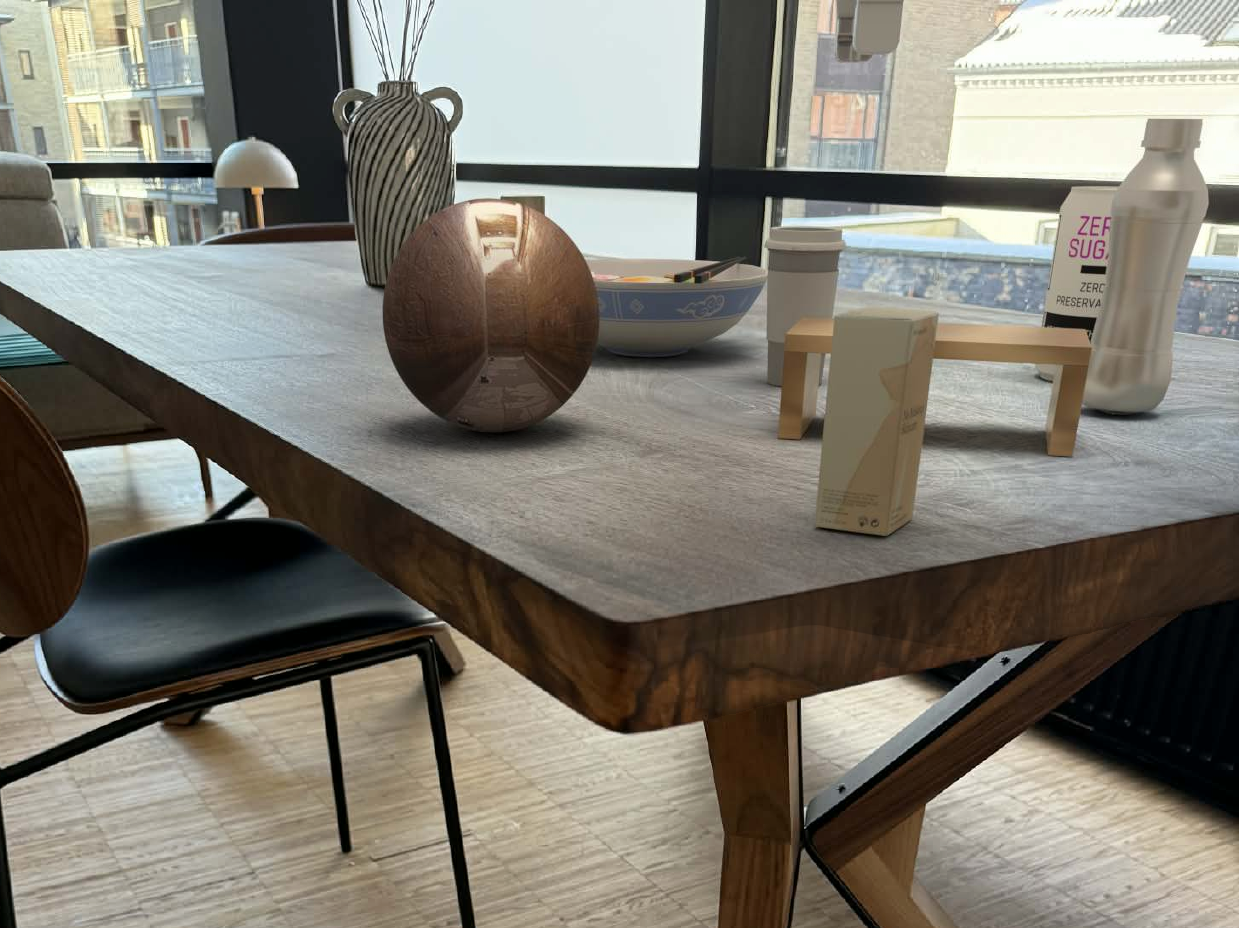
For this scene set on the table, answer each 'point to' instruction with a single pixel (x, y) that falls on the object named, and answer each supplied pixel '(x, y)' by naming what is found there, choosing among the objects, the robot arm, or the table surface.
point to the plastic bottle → (1146, 270)
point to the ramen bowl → (670, 302)
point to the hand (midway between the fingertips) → (862, 58)
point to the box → (874, 418)
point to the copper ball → (491, 315)
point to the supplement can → (1078, 263)
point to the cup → (799, 284)
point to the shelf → (954, 344)
